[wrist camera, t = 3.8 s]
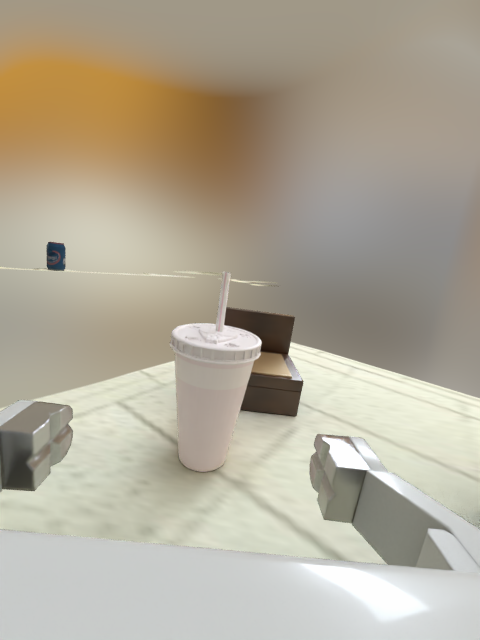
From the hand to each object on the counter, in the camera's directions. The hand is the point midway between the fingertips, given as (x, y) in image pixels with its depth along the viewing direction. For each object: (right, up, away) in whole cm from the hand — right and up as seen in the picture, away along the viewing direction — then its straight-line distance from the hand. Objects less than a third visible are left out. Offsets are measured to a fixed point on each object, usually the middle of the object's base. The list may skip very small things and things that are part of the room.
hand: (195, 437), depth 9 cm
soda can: (-82, +27, +114) cm, 143 cm away
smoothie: (-1, -7, +12) cm, 14 cm away
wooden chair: (+3, -5, +23) cm, 24 cm away
